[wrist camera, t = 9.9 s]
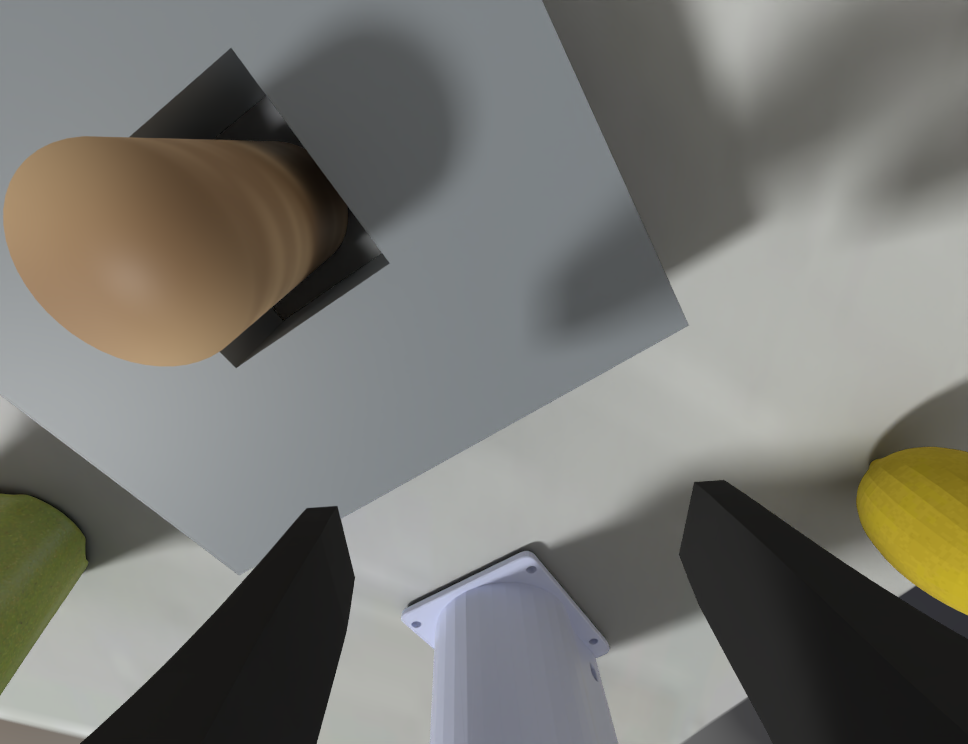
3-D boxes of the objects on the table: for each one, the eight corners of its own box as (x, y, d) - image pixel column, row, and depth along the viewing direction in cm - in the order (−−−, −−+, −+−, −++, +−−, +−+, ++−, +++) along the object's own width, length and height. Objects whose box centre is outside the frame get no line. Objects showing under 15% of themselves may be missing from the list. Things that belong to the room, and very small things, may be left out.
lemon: (793, 469, 21) (962, 632, 14) (905, 390, 20) (1162, 530, 12) (849, 525, 23) (1025, 694, 16) (956, 456, 21) (1205, 612, 14)
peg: (372, 226, 16) (299, 295, 8) (284, 289, 16) (149, 401, 9) (289, 113, 14) (111, 77, 7) (196, 189, 15) (-50, 229, 8)
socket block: (640, 287, 17) (688, 325, 13) (277, 500, 21) (239, 575, 17) (307, -398, 10) (219, -713, 6) (-162, 114, 13) (-389, 102, 10)
